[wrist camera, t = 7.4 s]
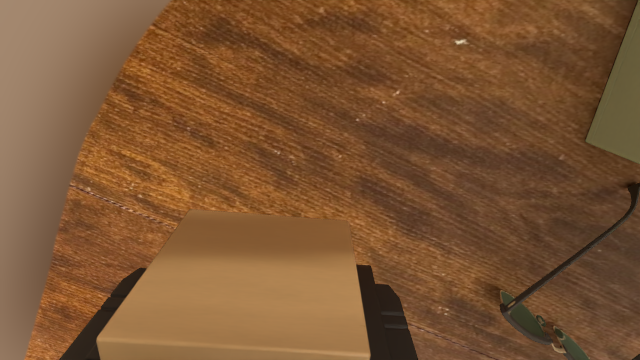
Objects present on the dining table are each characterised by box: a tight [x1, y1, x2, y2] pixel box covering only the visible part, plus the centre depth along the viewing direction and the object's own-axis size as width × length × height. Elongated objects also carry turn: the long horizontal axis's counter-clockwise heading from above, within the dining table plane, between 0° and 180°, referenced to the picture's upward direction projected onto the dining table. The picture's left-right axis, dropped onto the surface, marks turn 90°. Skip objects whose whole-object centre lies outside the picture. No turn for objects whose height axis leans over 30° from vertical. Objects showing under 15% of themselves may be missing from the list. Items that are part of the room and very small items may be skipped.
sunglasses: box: [500, 183, 640, 360], centre depth 34 cm, size 16×17×5 cm
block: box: [96, 209, 371, 360], centre depth 8 cm, size 4×4×4 cm
